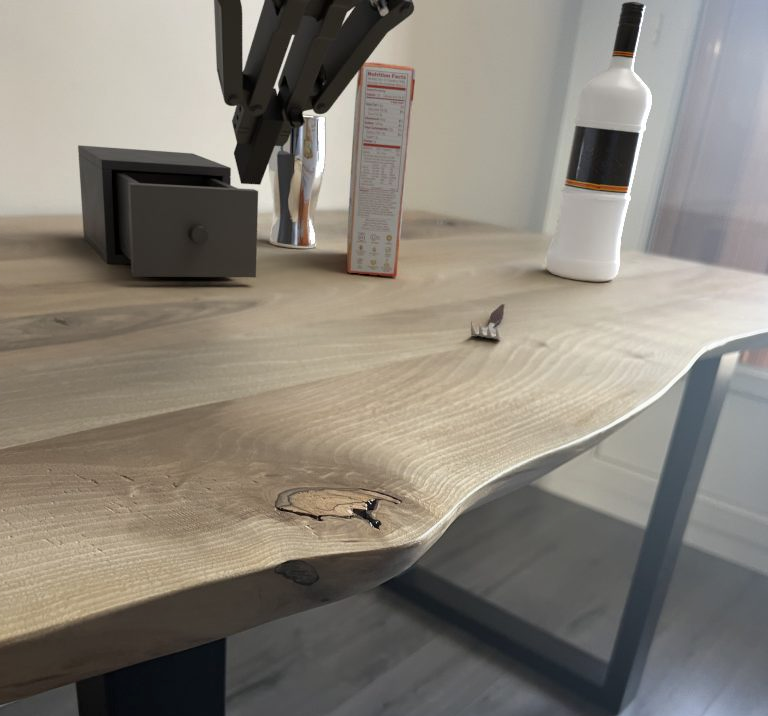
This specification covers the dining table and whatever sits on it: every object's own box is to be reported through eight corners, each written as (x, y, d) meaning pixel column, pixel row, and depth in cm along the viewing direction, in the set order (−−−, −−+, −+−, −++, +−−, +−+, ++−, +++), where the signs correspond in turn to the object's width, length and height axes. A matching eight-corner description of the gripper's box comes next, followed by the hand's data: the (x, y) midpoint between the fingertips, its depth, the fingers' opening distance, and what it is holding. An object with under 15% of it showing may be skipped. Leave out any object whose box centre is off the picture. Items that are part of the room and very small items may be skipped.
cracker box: (343, 252, 103) (357, 63, 93) (391, 256, 103) (409, 69, 94) (343, 274, 90) (358, 58, 81) (397, 278, 91) (419, 65, 81)
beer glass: (315, 241, 108) (323, 116, 101) (323, 250, 102) (331, 118, 95) (263, 237, 106) (266, 110, 100) (267, 247, 100) (272, 112, 94)
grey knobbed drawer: (260, 280, 78) (262, 192, 75) (136, 279, 73) (133, 186, 70) (216, 250, 90) (216, 173, 86) (107, 248, 85) (102, 166, 81)
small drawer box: (229, 265, 88) (230, 167, 84) (106, 263, 83) (101, 159, 78) (193, 240, 100) (193, 153, 95) (83, 237, 94) (77, 145, 90)
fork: (515, 311, 81) (519, 291, 81) (496, 350, 67) (500, 326, 67) (490, 307, 82) (493, 287, 81) (465, 345, 68) (468, 321, 67)
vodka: (534, 273, 103) (583, -7, 89) (554, 264, 110) (603, 6, 97) (606, 286, 99) (669, -2, 86) (622, 276, 107) (682, 10, 93)
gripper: (248, -127, 37) (168, 208, 57) (489, -72, 42) (338, 215, 63) (215, -247, 39) (149, 119, 59) (451, -178, 44) (316, 134, 65)
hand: (247, 168), depth 61 cm, fingers closed
